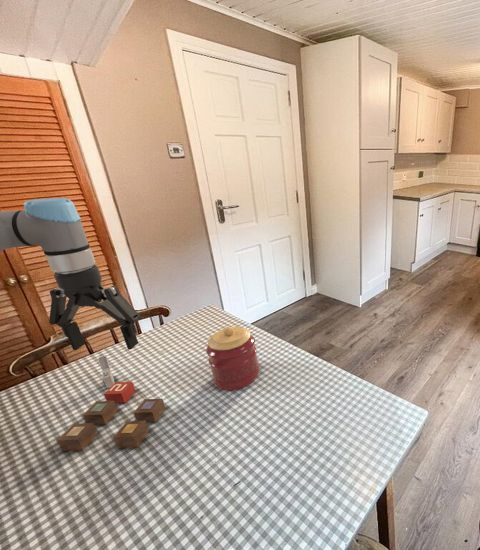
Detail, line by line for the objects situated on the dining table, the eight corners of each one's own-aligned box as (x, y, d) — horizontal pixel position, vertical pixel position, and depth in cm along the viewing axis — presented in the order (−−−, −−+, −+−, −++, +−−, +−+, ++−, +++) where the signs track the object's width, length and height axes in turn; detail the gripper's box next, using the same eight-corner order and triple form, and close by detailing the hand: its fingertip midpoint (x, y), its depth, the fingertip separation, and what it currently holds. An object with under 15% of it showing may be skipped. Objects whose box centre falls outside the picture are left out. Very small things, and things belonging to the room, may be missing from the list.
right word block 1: (118, 450, 69) (112, 437, 68) (131, 433, 74) (126, 420, 72) (138, 449, 70) (133, 436, 68) (150, 432, 74) (145, 420, 72)
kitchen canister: (222, 400, 83) (209, 346, 77) (208, 375, 92) (196, 326, 86) (267, 378, 91) (259, 328, 85) (250, 358, 100) (242, 311, 94)
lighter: (115, 387, 88) (106, 365, 85) (107, 390, 87) (98, 367, 84) (113, 375, 93) (105, 353, 90) (106, 377, 92) (97, 355, 89)
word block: (63, 453, 69) (56, 440, 67) (79, 436, 73) (73, 423, 71) (84, 452, 69) (77, 439, 67) (99, 435, 73) (93, 422, 72)
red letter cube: (108, 405, 82) (103, 393, 80) (119, 393, 86) (115, 381, 84) (125, 404, 82) (121, 393, 80) (136, 392, 86) (132, 381, 85)
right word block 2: (137, 424, 76) (133, 412, 74) (148, 410, 80) (144, 398, 78) (156, 424, 76) (151, 411, 75) (166, 409, 80) (162, 398, 79)
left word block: (87, 427, 75) (81, 415, 74) (101, 413, 79) (96, 401, 78) (106, 426, 75) (101, 414, 74) (119, 412, 80) (114, 400, 78)
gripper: (141, 262, 72) (164, 337, 80) (36, 263, 72) (70, 338, 80) (118, 274, 65) (145, 355, 73) (1, 275, 65) (42, 356, 73)
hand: (106, 346), depth 77 cm, fingers open, 13 cm apart
